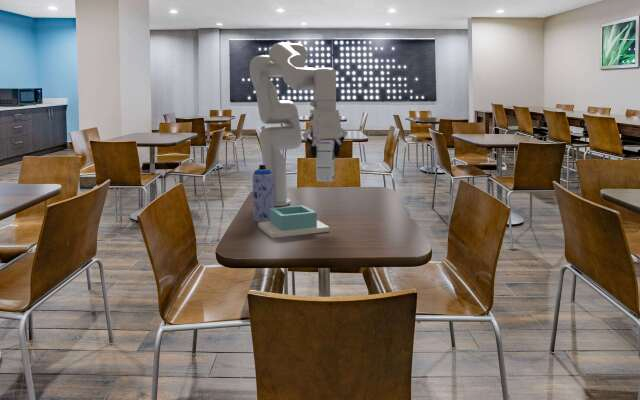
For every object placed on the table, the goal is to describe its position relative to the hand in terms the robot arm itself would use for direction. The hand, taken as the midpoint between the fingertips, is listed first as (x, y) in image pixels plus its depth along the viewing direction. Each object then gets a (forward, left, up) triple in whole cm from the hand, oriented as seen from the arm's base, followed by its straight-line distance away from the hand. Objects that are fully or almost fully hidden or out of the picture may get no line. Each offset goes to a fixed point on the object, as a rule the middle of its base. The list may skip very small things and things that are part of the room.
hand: (325, 156), depth 187 cm
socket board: (+3, -13, -24) cm, 27 cm away
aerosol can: (-15, -18, -24) cm, 34 cm away
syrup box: (0, 0, -9) cm, 9 cm away
